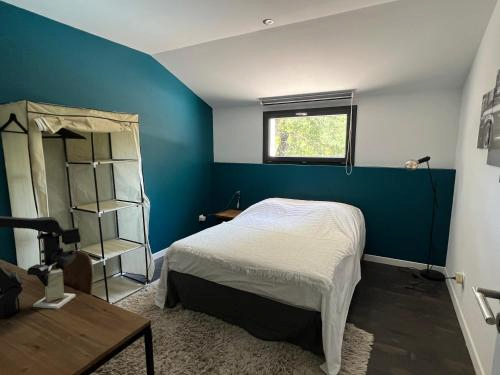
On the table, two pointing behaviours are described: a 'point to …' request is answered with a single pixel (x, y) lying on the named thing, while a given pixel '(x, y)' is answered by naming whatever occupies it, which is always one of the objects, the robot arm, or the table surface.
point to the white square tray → (54, 302)
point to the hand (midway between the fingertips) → (53, 281)
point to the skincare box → (54, 285)
